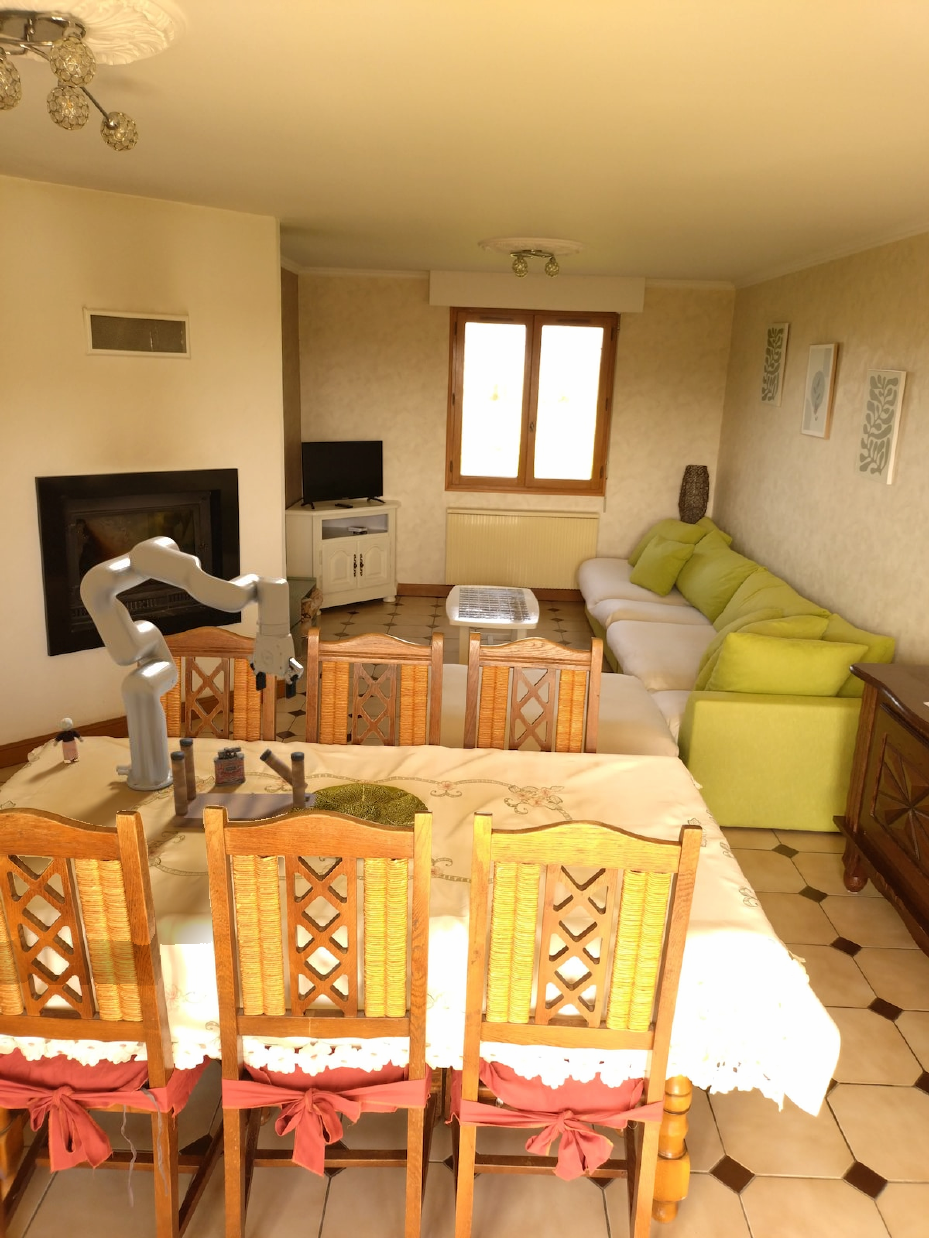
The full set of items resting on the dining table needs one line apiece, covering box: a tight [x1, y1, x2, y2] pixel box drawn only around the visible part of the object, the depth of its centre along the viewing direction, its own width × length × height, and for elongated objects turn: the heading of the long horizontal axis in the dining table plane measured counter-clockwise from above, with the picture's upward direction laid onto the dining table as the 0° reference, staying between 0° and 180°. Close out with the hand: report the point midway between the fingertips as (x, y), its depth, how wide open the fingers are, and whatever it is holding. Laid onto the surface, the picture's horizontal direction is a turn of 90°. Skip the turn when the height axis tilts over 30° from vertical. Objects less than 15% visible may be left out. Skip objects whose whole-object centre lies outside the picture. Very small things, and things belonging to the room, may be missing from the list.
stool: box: [169, 737, 318, 828], centre depth 231 cm, size 33×13×18 cm, turn 91°
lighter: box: [213, 745, 246, 788], centre depth 249 cm, size 8×3×10 cm, turn 118°
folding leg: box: [259, 748, 309, 790], centre depth 235 cm, size 14×3×3 cm
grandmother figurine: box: [52, 717, 84, 761], centre depth 260 cm, size 8×4×13 cm, turn 133°
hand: (275, 693), depth 236 cm, fingers open, 9 cm apart
